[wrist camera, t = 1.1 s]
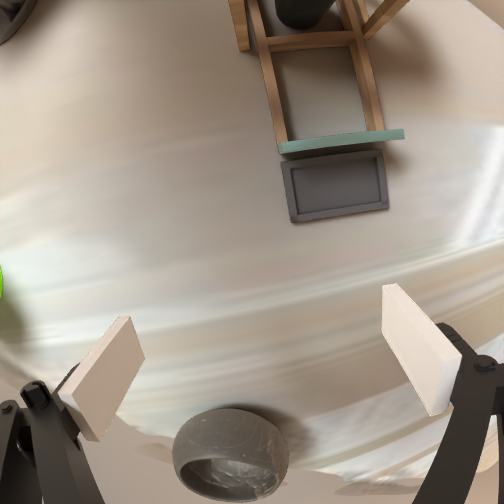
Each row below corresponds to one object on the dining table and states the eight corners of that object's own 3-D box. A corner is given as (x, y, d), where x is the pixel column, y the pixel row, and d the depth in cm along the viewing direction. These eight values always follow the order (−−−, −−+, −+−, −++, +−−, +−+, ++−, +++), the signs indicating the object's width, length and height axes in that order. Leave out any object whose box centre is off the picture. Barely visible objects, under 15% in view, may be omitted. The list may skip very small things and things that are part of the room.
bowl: (287, 452, 50) (290, 506, 38) (193, 452, 51) (182, 504, 39) (285, 386, 45) (290, 449, 33) (171, 388, 46) (150, 447, 34)
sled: (241, -17, 28) (237, -50, 21) (334, -24, 27) (347, -55, 20) (279, 153, 35) (283, 153, 27) (376, 141, 34) (404, 139, 26)
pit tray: (280, 162, 36) (281, 162, 34) (377, 149, 35) (381, 149, 33) (290, 220, 38) (291, 223, 36) (384, 205, 37) (388, 207, 35)
